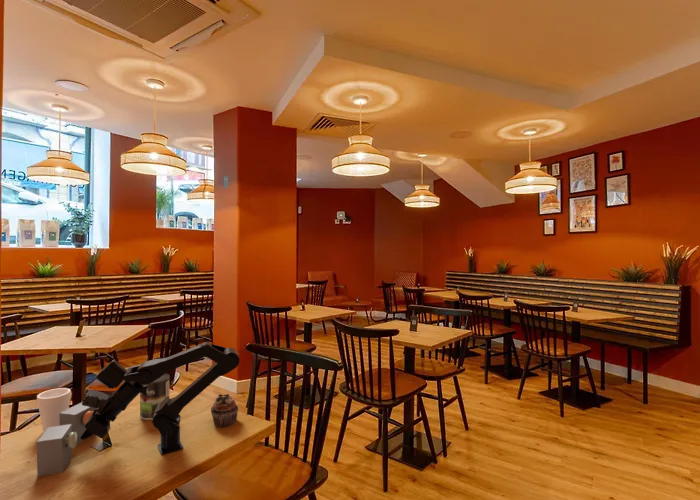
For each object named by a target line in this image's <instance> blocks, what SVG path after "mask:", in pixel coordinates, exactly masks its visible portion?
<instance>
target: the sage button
mask: <svg viewBox="0 0 700 500" xmlns="http://www.w3.org/2000/svg"><path fill="white" fill-rule="evenodd" d="M65 441H66V444H68V448H69V449H70V448H72V449H74V448H75V447H76V446H77V445H76V442H77V433H76V432H71V433H70V434H69V437H68V438H65Z"/></svg>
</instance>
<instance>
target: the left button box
mask: <svg viewBox="0 0 700 500" xmlns="http://www.w3.org/2000/svg"><path fill="white" fill-rule="evenodd" d="M71 432H72V424H69V425H61V426H54V427H48V428H47V430H46V431H45V432H43V434H41V436H40V437H39V438H38V439H37V441H36V464H37V465H36V466H37V467H36V471H37V474H36V475H37V477H43V476H48V475H54V474H55V475H56V474H61V473H63V472H64V470H66V467H67V466H68V464H69V462H70V461H71V460H72V458H73V448H70V449H69V448H68V444H66V441H65V438H68V437H69V434H70V433H71Z"/></svg>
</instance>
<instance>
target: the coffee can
mask: <svg viewBox="0 0 700 500" xmlns="http://www.w3.org/2000/svg"><path fill="white" fill-rule="evenodd" d="M170 377H171V376H170V374H169V373H165V374H164V375H163V376H161V377H160V378H158V379H157V380H155V381H153V382H152V383H150V384H148V393H147V395H146V396H144V395H143V394H142V393H139V401H140V402H139V410H140V411H139V412H140V414H139V418H140V419H141V420H144V421H152V420H153V416H154V413H155V410H156V408H157V405H158V403H161V402H162V401H163V400H164V399H165V398H166V397H167V396H169V397H170Z"/></svg>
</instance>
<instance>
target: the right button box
mask: <svg viewBox="0 0 700 500" xmlns="http://www.w3.org/2000/svg"><path fill="white" fill-rule="evenodd" d="M82 402H83V401H81V402H79V403H77V404H75V405H73V406H72V407H69V409H67V410H65V411H63V412H61V413H59V420H60V426H61V425H69V424H72V432H76V433H77V442H76V446H77V445H78V444H80V443H81V442H83V441H85V440H87V439H88V438H86V439H84V440H82V439H81V438H80V437H81V436H82V434H83V433H84V432H85V430H86V428H85V425H84V424H83V422H82V419H83V415H84V414H85V413H86V412H87V411H94V410H97V409H98V408H92V407H88V406H83V405H82Z"/></svg>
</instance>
